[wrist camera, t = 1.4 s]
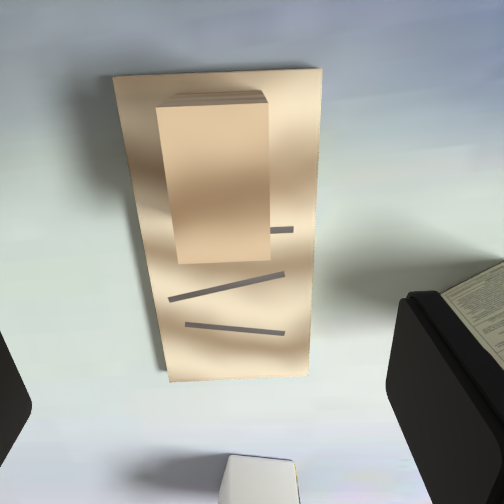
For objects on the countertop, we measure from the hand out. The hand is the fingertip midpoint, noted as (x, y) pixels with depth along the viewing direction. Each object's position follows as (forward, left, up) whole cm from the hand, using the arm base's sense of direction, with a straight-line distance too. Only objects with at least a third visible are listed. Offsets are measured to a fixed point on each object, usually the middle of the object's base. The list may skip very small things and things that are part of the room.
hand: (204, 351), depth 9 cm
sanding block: (0, 0, -17) cm, 17 cm away
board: (+7, 0, -18) cm, 19 cm away
